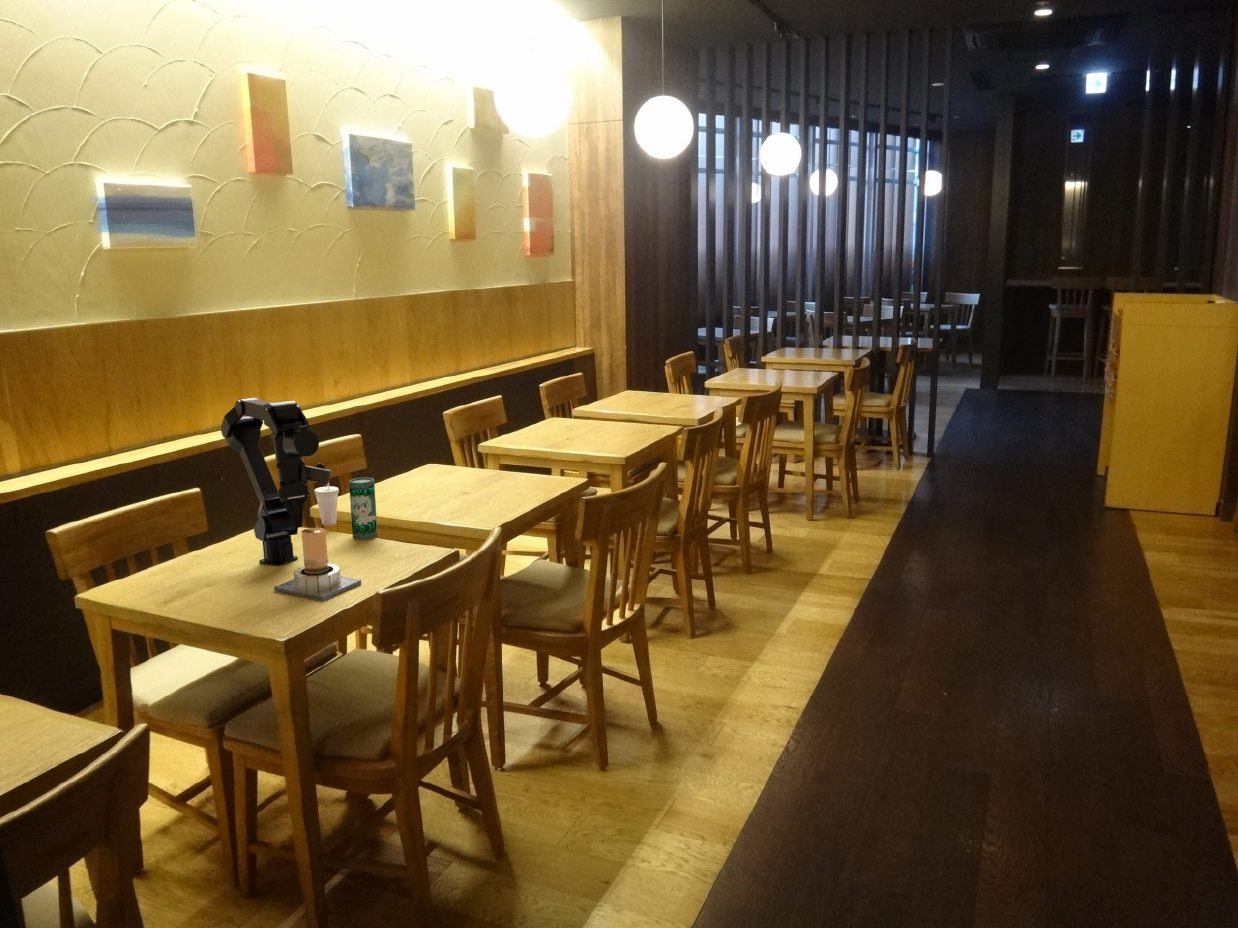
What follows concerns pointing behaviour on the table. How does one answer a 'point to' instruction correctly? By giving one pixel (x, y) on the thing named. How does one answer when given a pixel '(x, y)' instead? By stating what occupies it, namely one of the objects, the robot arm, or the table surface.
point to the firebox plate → (320, 593)
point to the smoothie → (327, 504)
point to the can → (363, 508)
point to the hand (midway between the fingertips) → (299, 524)
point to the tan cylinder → (315, 551)
